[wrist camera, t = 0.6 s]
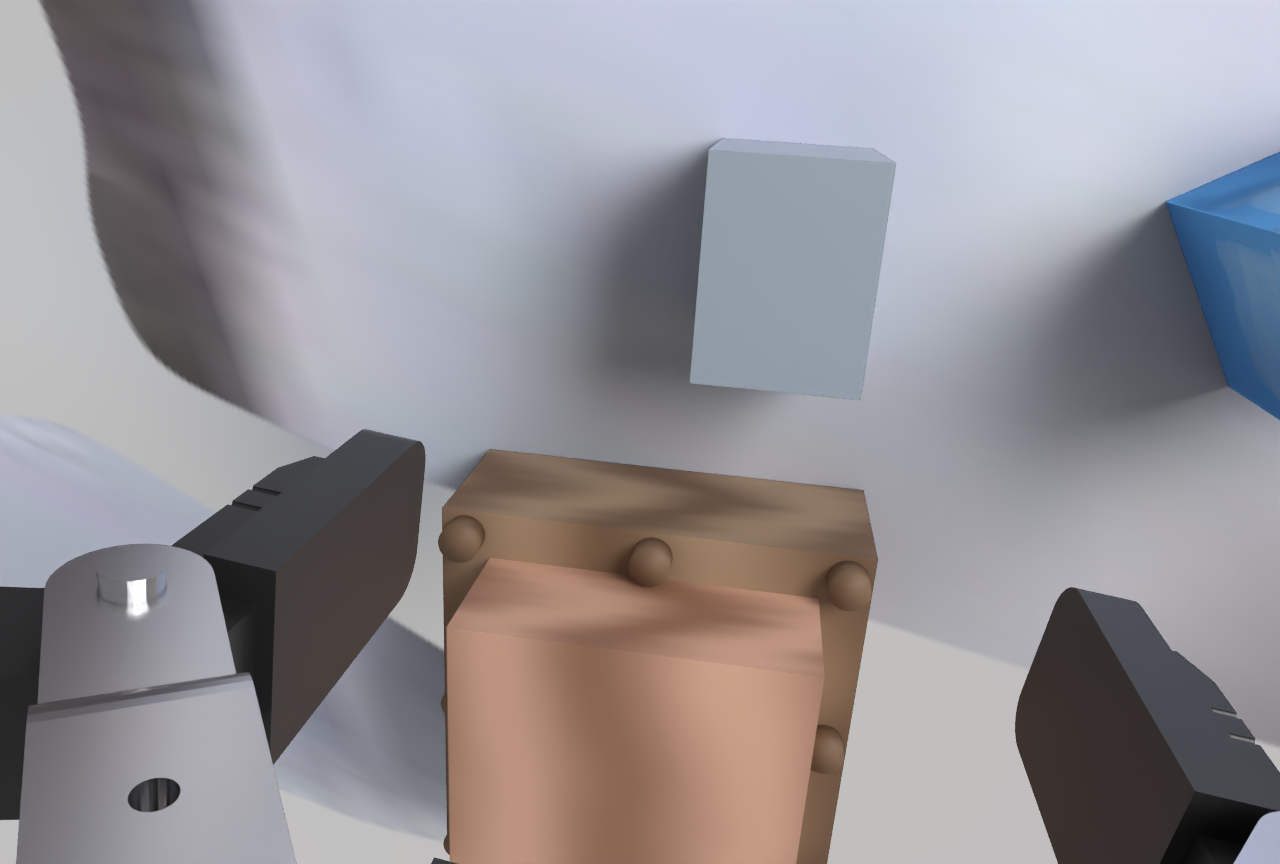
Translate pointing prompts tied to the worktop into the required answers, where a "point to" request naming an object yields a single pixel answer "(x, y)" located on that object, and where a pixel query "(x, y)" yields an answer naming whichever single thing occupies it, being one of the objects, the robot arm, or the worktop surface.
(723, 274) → the grey brick
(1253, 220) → the perfume bottle
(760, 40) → the worktop surface
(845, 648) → the brown studded stepped block
